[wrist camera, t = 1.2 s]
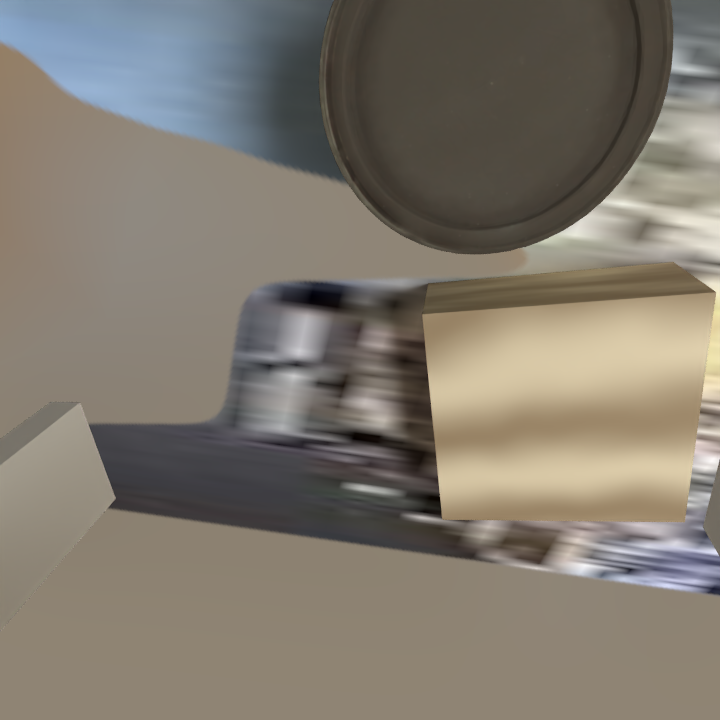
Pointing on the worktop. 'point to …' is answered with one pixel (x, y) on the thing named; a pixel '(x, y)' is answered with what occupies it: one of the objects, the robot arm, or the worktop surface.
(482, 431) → the birch block
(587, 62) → the coffee can
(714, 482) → the robot arm
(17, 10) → the worktop surface
